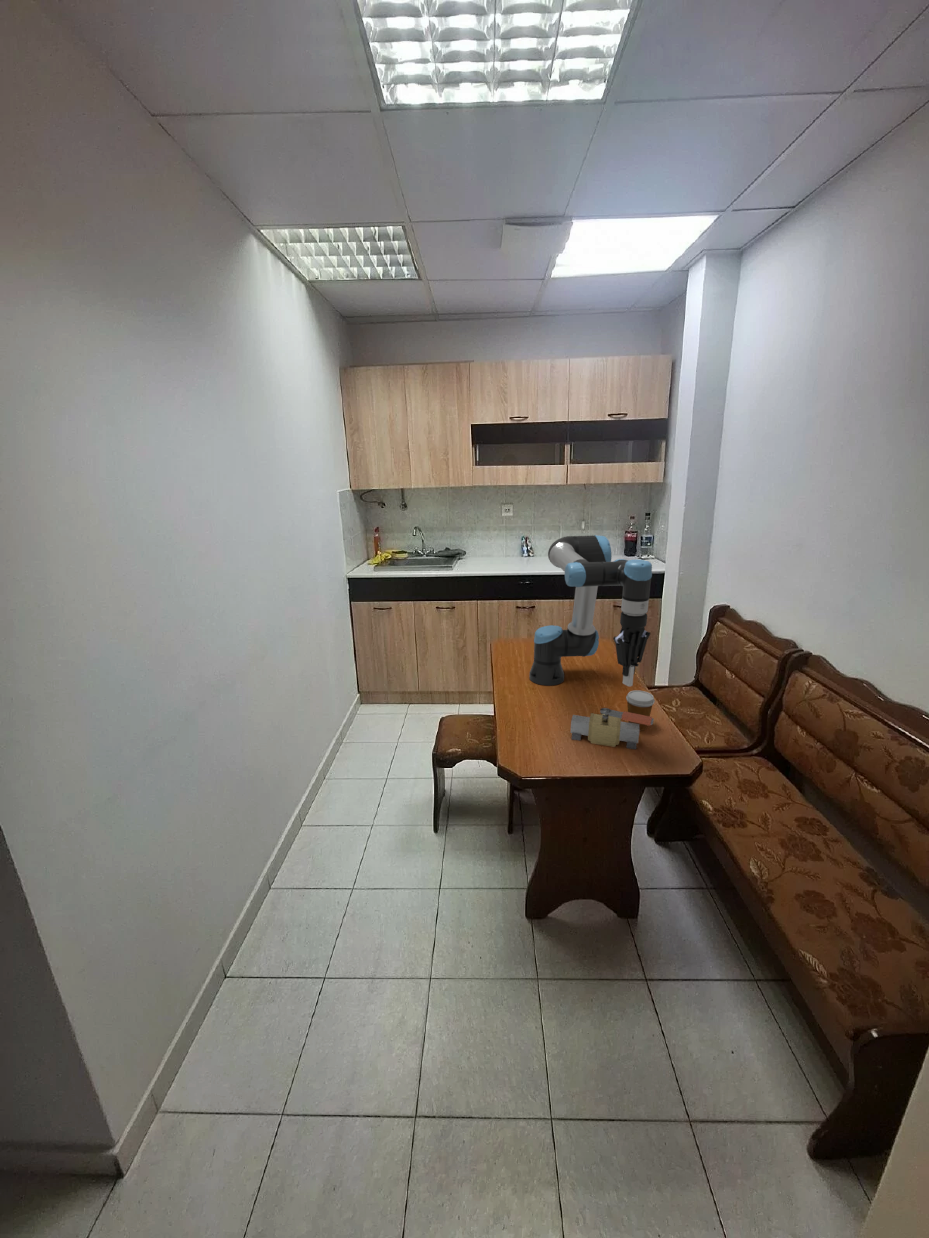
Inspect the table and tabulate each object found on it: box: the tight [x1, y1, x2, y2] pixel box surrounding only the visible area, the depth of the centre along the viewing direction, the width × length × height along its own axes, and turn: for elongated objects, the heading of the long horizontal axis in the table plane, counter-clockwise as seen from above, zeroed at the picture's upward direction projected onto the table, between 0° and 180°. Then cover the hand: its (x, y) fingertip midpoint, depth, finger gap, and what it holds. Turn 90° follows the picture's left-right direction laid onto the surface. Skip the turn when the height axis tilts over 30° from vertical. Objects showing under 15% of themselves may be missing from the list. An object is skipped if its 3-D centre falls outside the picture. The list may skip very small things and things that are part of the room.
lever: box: [599, 707, 655, 726], centre depth 160 cm, size 17×4×2 cm, turn 62°
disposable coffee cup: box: [625, 689, 656, 731], centre depth 172 cm, size 10×10×12 cm
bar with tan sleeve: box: [570, 712, 640, 750], centre depth 165 cm, size 22×7×10 cm, turn 71°
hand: (627, 684), depth 152 cm, fingers closed
